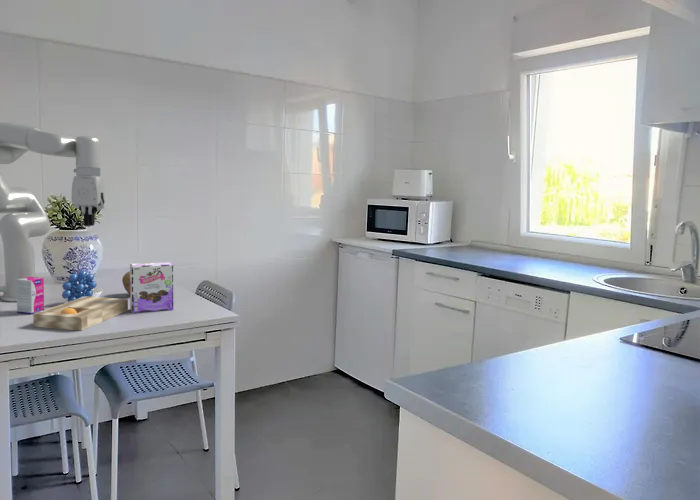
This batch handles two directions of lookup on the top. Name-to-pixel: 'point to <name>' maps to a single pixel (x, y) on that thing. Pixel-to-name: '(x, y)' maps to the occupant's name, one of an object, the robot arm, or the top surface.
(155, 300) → the candy box
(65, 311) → the ball
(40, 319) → the wooden tray with pocket
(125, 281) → the natural sponge
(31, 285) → the supplement box
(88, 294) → the grapes
